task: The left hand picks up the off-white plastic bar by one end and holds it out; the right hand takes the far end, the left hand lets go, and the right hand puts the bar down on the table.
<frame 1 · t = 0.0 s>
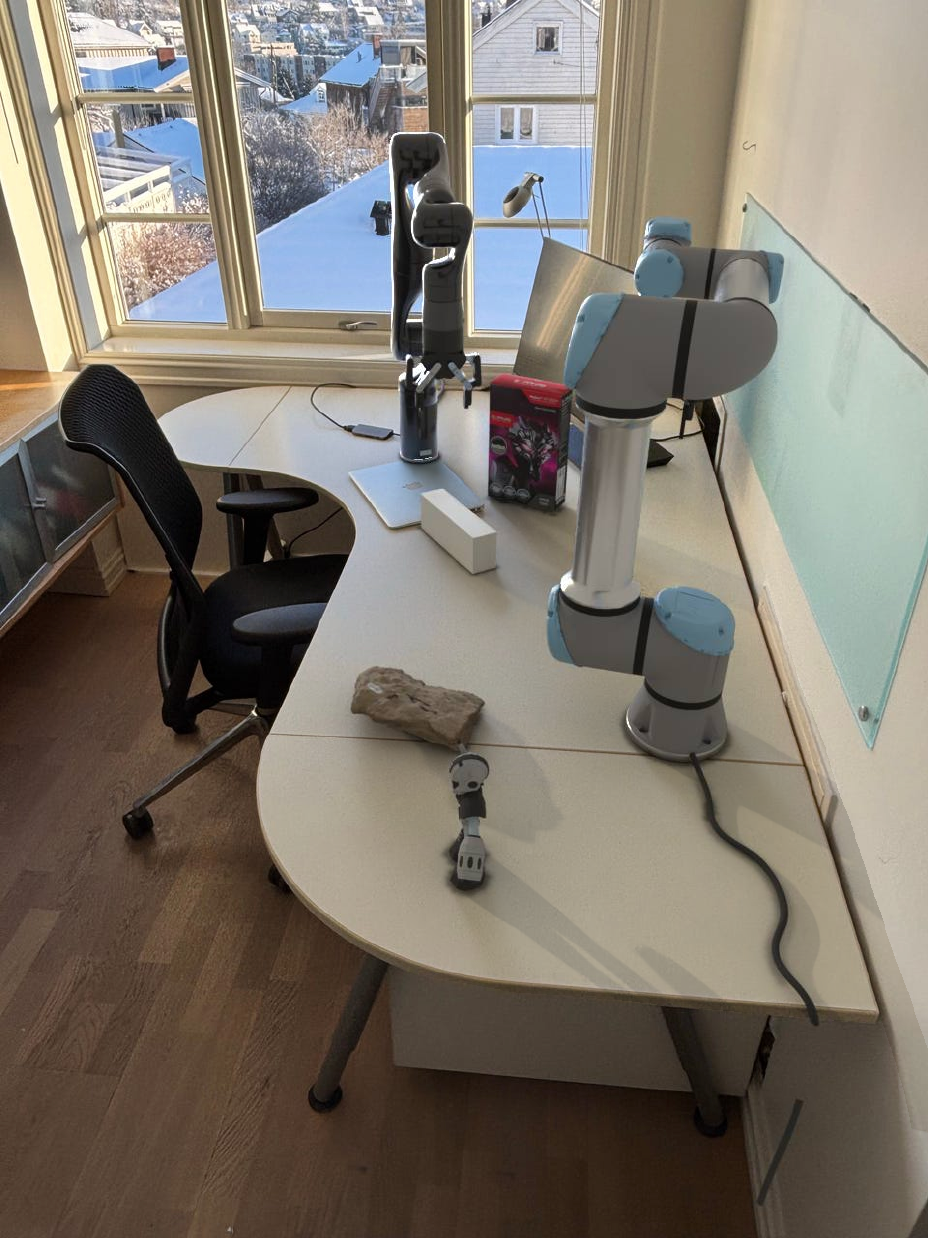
left hand: (443, 408, 176), 29 cm above the table, tool pointing down, fingers open, 8 cm apart
right hand: (643, 432, 170), 28 cm above the table, tool pointing down, fingers open, 13 cm apart
bar: (457, 546, 191), on the table
graphics card box: (525, 500, 209), on the table
stone: (412, 720, 145), on the table
robot: (467, 866, 120), on the table
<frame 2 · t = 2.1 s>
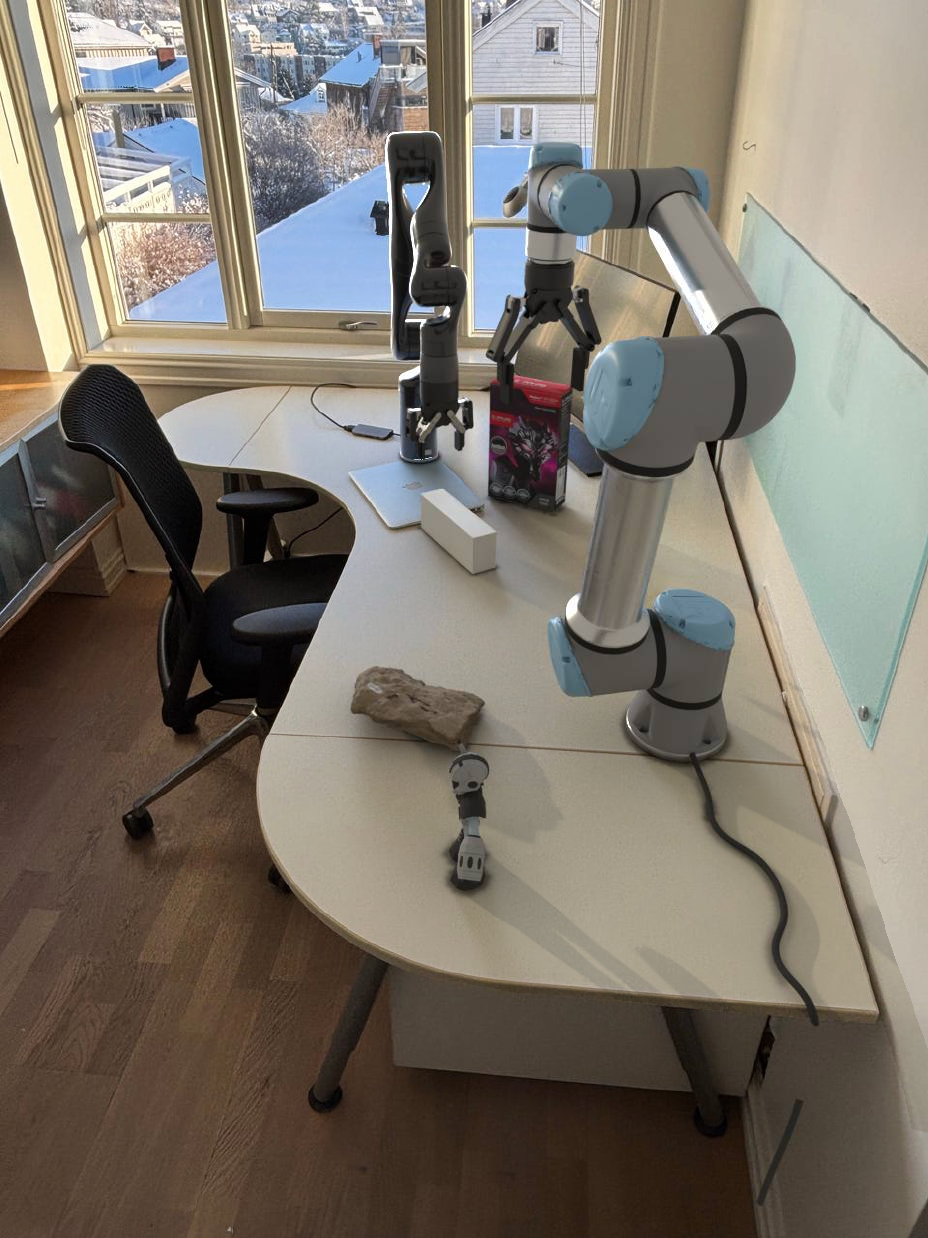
left hand: (439, 453, 186), 18 cm above the table, tool pointing down, fingers open, 8 cm apart
right hand: (542, 395, 150), 41 cm above the table, tool pointing down, fingers open, 13 cm apart
nothing on the table moved.
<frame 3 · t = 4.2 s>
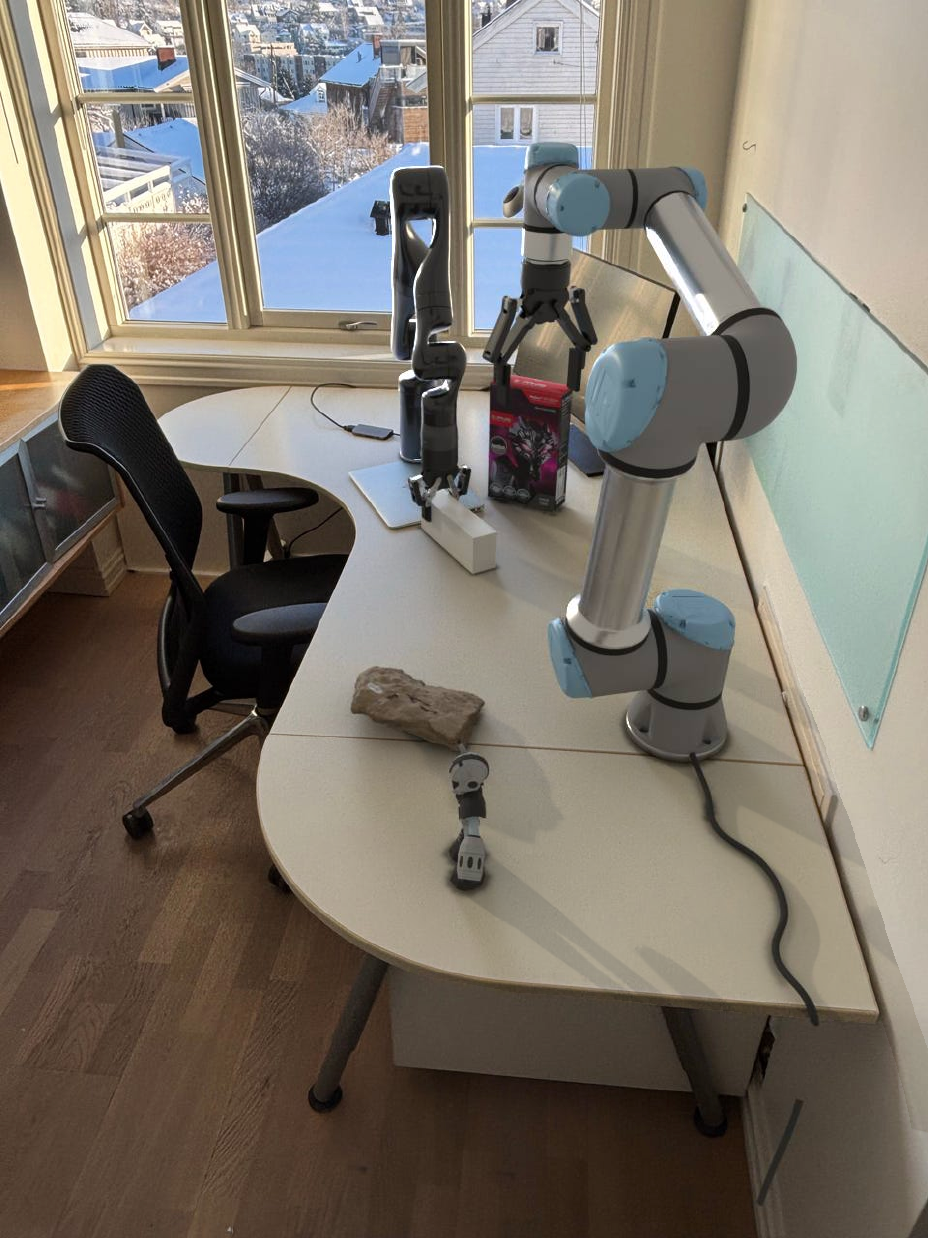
left hand: (440, 517, 194), 4 cm above the table, tool pointing down, fingers closed on bar, 5 cm apart
right hand: (538, 396, 150), 41 cm above the table, tool pointing down, fingers open, 13 cm apart
bar: (457, 546, 191), on the table, touching left hand
everything else where it was.
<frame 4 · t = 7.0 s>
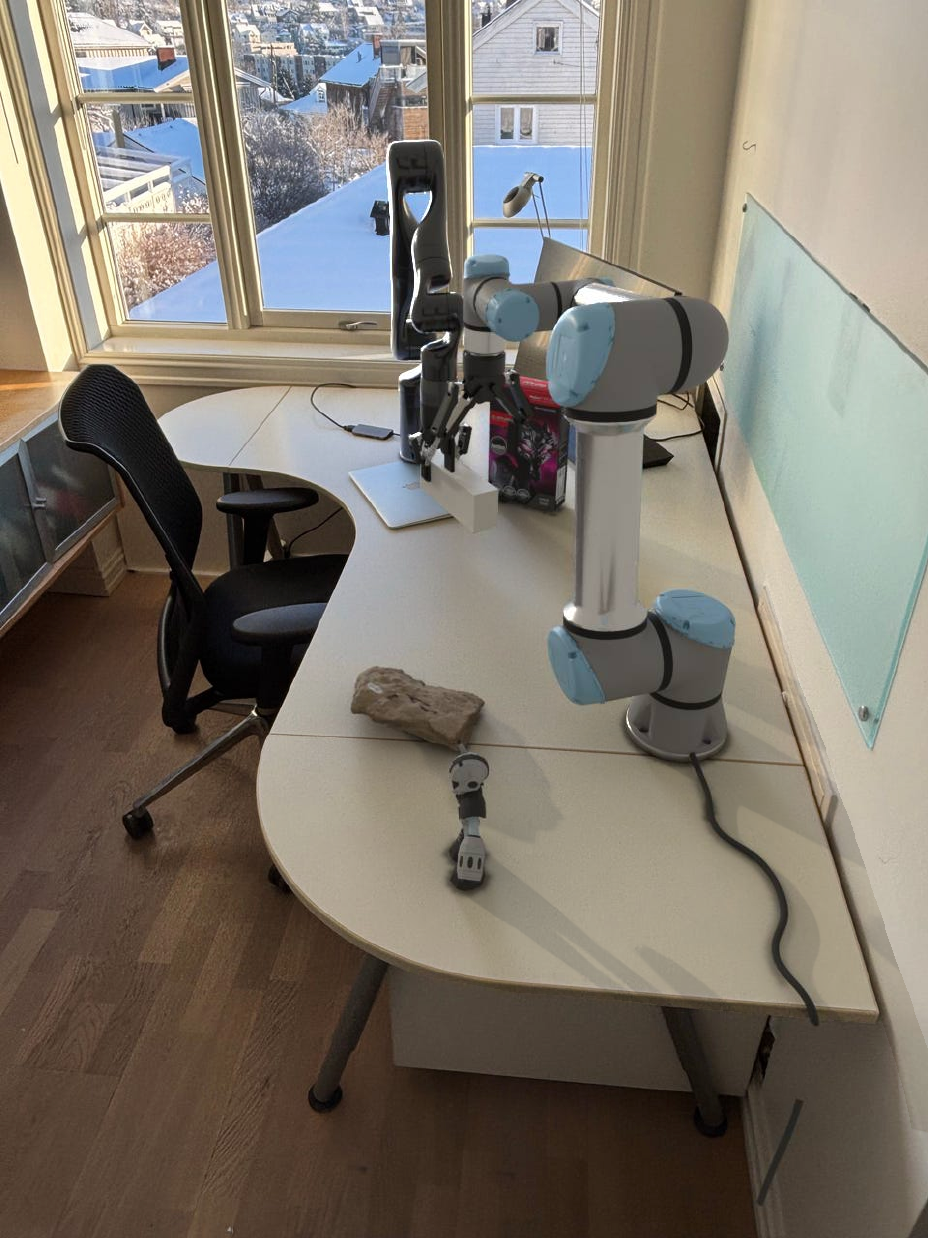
left hand: (439, 477, 189), 13 cm above the table, tool pointing down, fingers closed on bar, 5 cm apart
right hand: (481, 462, 172), 22 cm above the table, tool pointing down, fingers open, 13 cm apart
bar: (457, 507, 186), point 9 cm above the table, touching left hand
everything else where it was.
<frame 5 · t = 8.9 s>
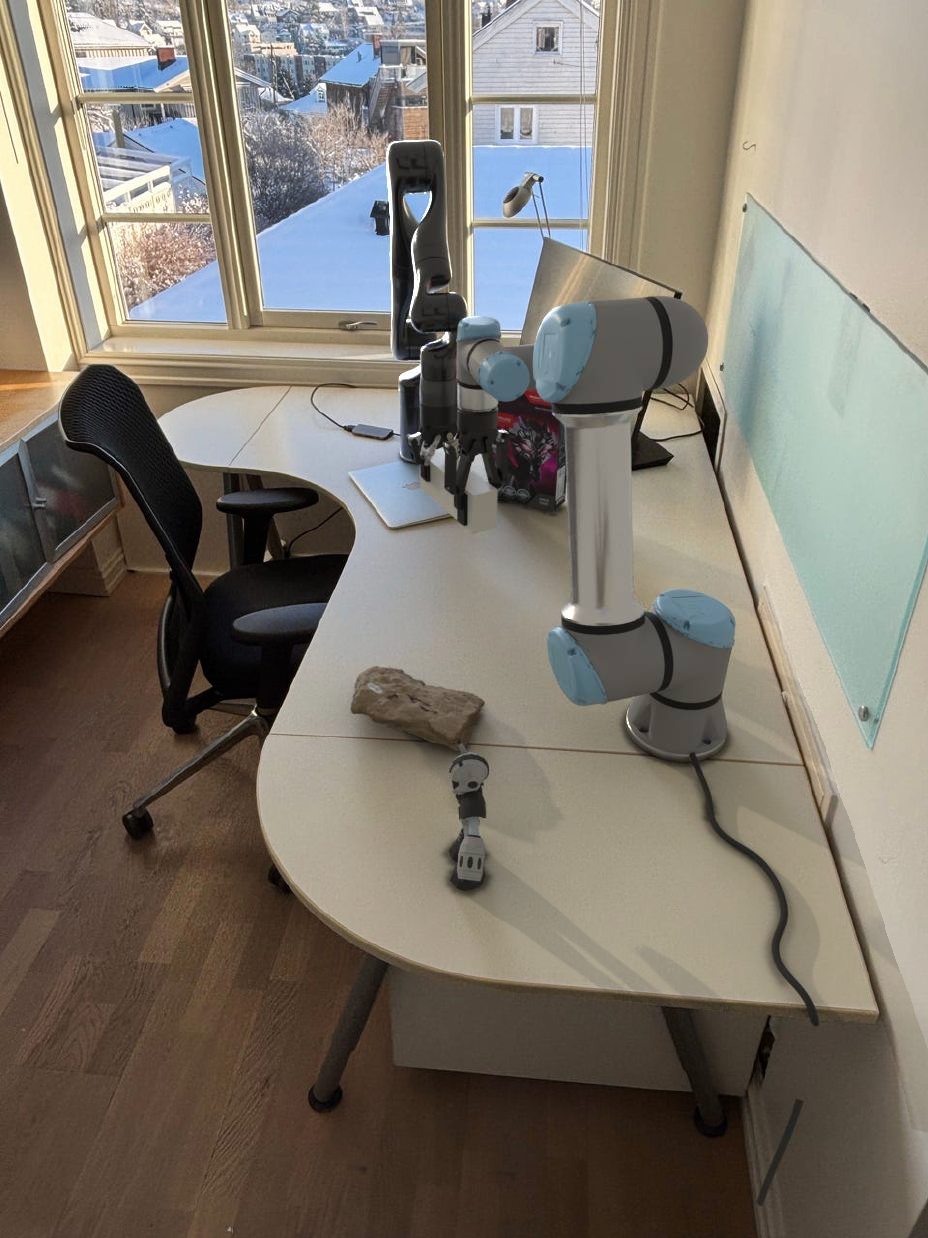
left hand: (439, 477, 189), 13 cm above the table, tool pointing down, fingers closed on bar, 5 cm apart
right hand: (475, 519, 180), 10 cm above the table, tool pointing down, fingers closed on bar, 5 cm apart
bar: (456, 507, 186), point 9 cm above the table, touching right hand, left hand
everything else where it was.
when the left hand's fingers open (13 cm above the table, at t = 9.8 s): bar stays where it is, held by the right hand.
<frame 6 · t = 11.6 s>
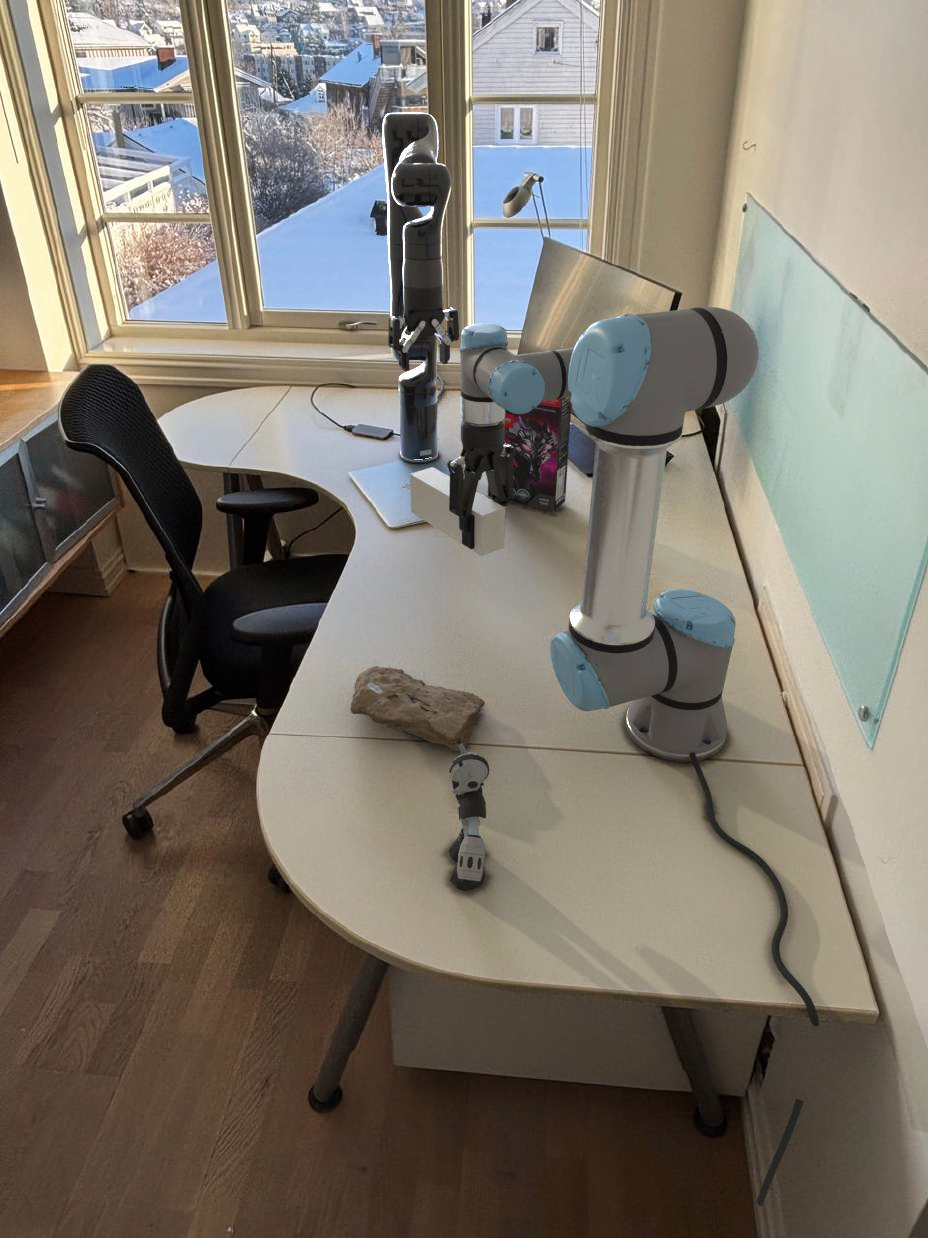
left hand: (424, 366, 181), 34 cm above the table, tool pointing down, fingers open, 8 cm apart
right hand: (481, 540, 168), 12 cm above the table, tool pointing down, fingers closed on bar, 5 cm apart
bar: (455, 529, 174), point 11 cm above the table, touching right hand
everything else where it was.
when the right hand's fingers open (2 cm above the table, at t = 14.2 s): bar drops 2 cm, on the table.
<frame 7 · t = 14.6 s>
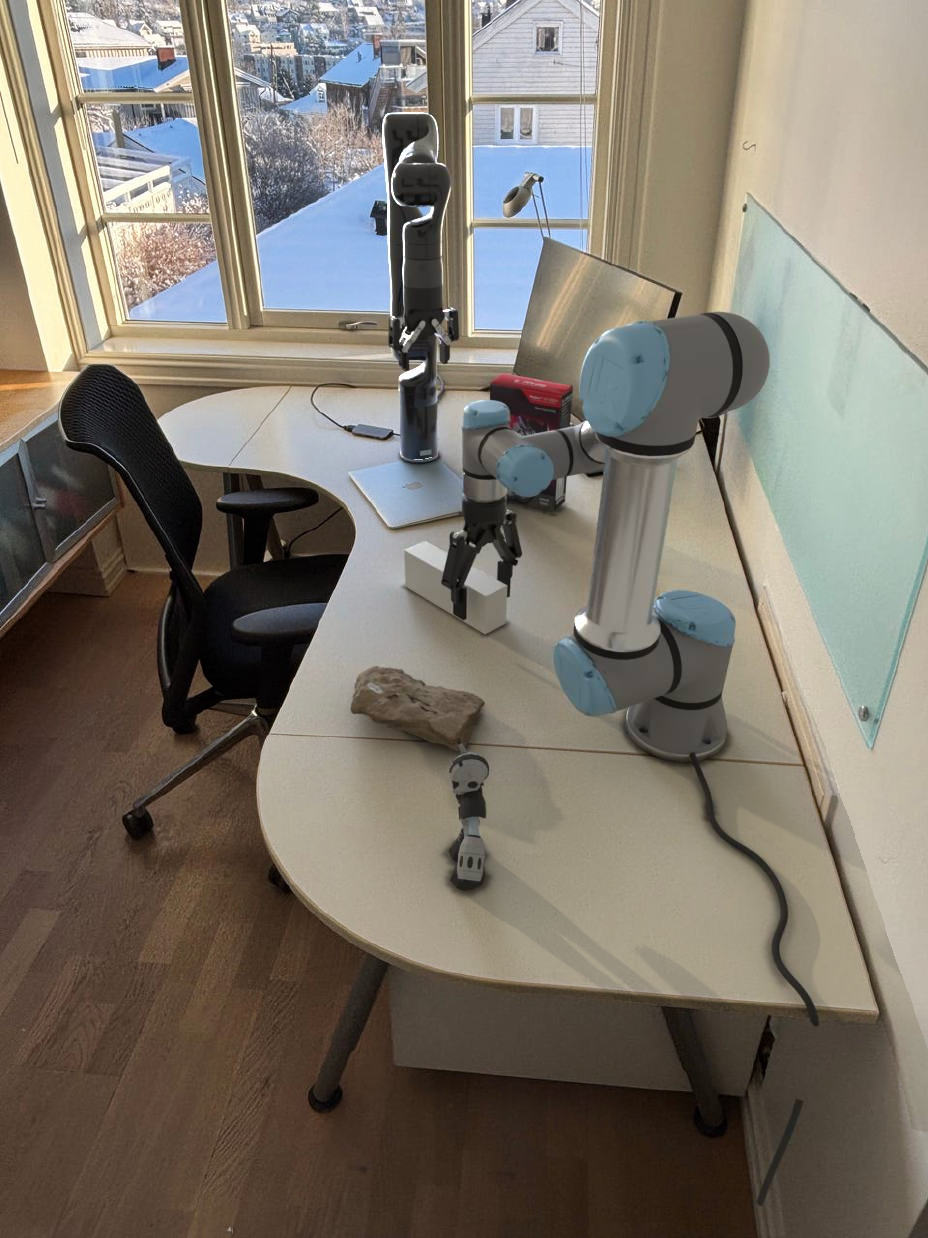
left hand: (424, 366, 181), 34 cm above the table, tool pointing down, fingers open, 8 cm apart
right hand: (481, 605, 166), 3 cm above the table, tool pointing down, fingers open, 10 cm apart
bar: (454, 604, 173), on the table
everything else where it was.
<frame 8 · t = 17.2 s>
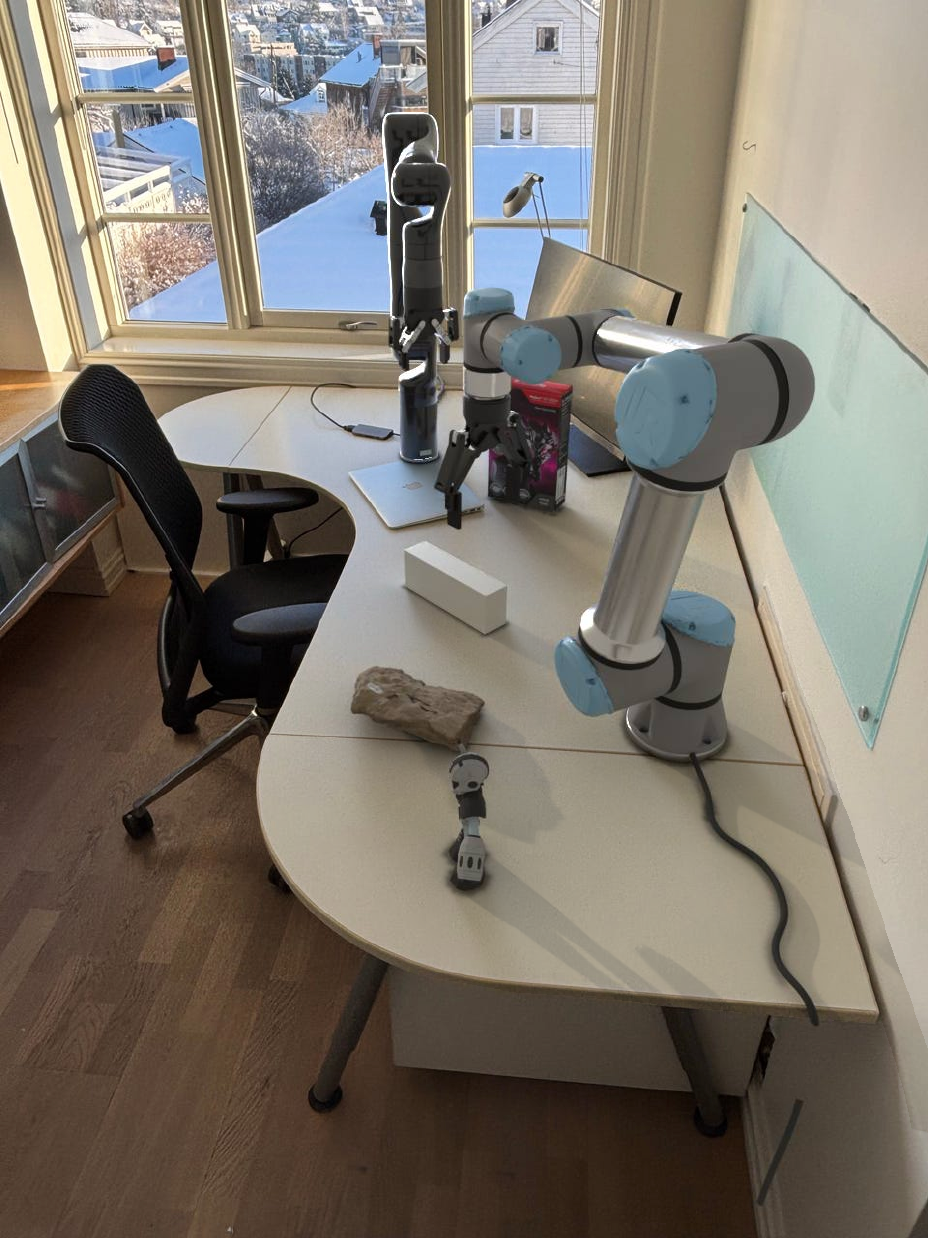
left hand: (424, 366, 181), 34 cm above the table, tool pointing down, fingers open, 8 cm apart
right hand: (483, 514, 156), 22 cm above the table, tool pointing down, fingers open, 13 cm apart
nothing on the table moved.
at the end: bar inside the target area (7.4 cm from its centre), on the table; the left hand is holding nothing; the right hand is holding nothing; bar at rest at the end (0.0 cm/s) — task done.
